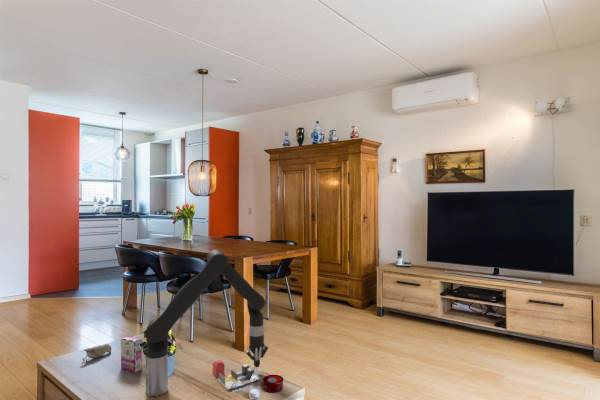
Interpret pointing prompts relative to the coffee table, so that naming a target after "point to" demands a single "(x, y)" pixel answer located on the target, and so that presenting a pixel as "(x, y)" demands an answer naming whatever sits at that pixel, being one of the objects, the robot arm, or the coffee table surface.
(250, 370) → the toggle
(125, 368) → the candy bar box
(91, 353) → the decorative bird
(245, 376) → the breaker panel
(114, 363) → the coffee table surface
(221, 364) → the cap
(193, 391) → the coffee table surface
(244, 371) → the toggle
